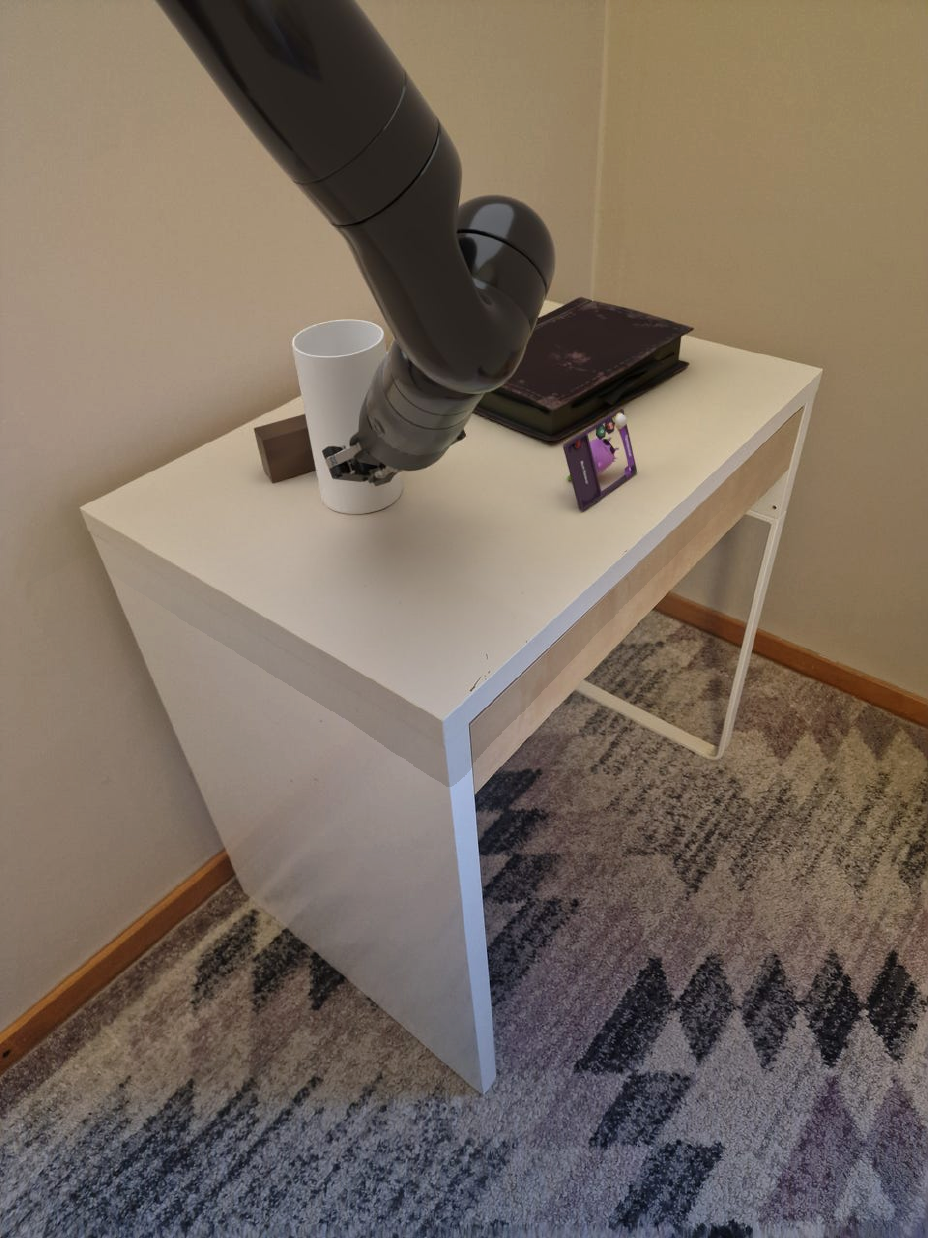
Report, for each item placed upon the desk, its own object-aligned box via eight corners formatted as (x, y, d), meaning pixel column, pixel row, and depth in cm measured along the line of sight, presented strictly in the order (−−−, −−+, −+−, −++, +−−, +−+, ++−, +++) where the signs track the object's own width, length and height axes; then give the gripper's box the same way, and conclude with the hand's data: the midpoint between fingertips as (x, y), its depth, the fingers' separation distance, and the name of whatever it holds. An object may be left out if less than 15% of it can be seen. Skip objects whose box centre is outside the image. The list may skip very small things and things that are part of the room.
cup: (417, 479, 87) (401, 325, 77) (376, 521, 82) (352, 363, 71) (349, 463, 90) (325, 314, 80) (305, 504, 85) (272, 349, 74)
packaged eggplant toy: (571, 444, 77) (629, 407, 82) (530, 445, 81) (587, 409, 86) (588, 512, 80) (643, 472, 85) (547, 509, 84) (602, 471, 89)
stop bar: (272, 483, 88) (262, 440, 85) (263, 470, 90) (253, 427, 87) (395, 445, 93) (390, 403, 89) (384, 434, 95) (379, 392, 91)
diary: (437, 398, 100) (434, 357, 97) (574, 330, 113) (575, 292, 110) (558, 450, 90) (559, 407, 87) (694, 369, 102) (700, 328, 99)
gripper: (477, 337, 66) (427, 418, 82) (315, 381, 62) (296, 457, 78) (513, 427, 66) (455, 490, 82) (353, 477, 62) (326, 533, 78)
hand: (377, 474), depth 80 cm, fingers closed
